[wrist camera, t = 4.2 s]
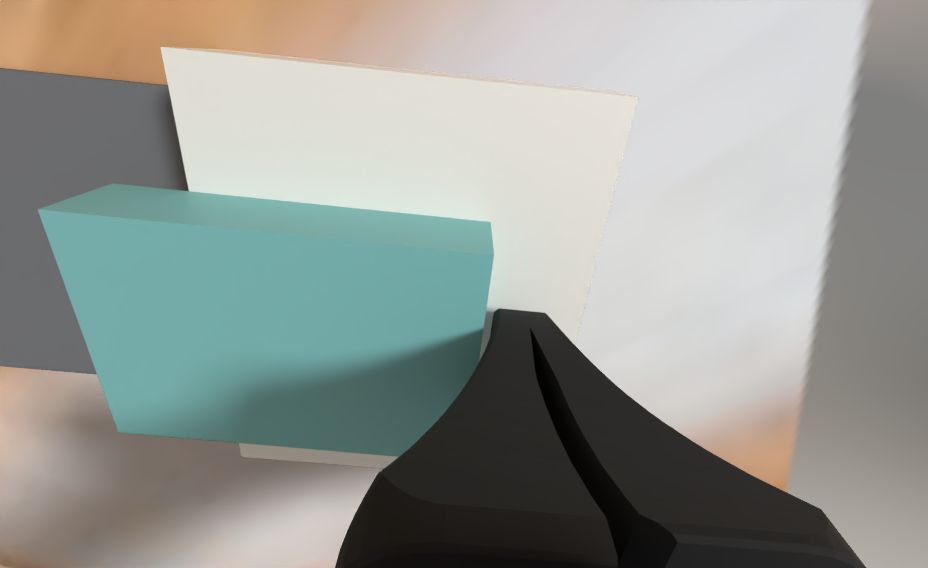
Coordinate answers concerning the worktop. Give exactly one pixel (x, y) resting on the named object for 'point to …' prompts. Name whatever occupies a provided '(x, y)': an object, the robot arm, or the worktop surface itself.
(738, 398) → the worktop surface
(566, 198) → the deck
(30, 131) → the mat
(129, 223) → the teal rectangular block
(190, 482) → the worktop surface
